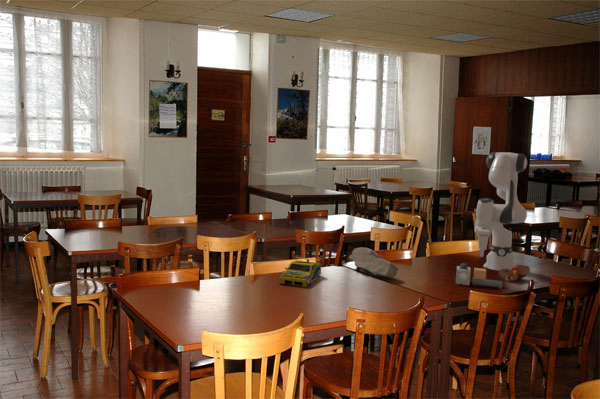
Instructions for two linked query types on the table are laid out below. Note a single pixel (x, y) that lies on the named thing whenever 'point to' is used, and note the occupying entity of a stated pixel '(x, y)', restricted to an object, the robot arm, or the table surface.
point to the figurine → (515, 272)
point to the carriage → (479, 276)
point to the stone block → (373, 262)
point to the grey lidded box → (463, 276)
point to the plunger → (463, 266)
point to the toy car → (301, 272)
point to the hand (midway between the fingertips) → (481, 254)
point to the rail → (490, 283)
